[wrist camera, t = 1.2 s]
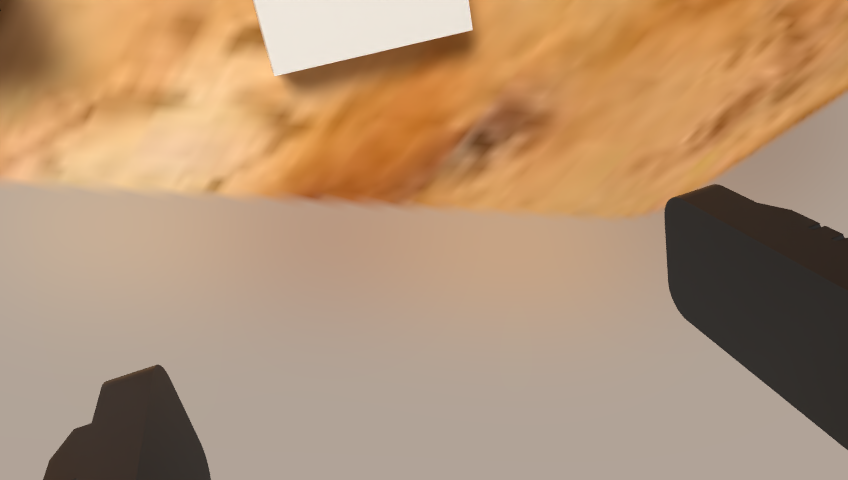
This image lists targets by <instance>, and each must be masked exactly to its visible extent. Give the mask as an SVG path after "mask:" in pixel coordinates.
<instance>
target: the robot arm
mask: <svg viewBox="0 0 848 480" xmlns="http://www.w3.org/2000/svg"><path fill="white" fill-rule="evenodd" d="M665 233H666V250H667V267H668V283H669V289H670V293H671V296H672V299H673V301H674V303H675V305H676V307H677V309H678V310H679V312H680V313H681V314H682V316H683V317H684V318H685V319H686V320H687V321H689V322H690V323H691V324H692V325H694V326H695V327H696V328H697V329H699V330H700V331H701V332H702V333H703V334H705V335H706V336H707V337H709V338H710V339H711V340H712V341H713V342H715V343H716V344H717V345H718V346H720V347H721V348H722V349H723V350H724V351H726V352H727V353H728V354H730V355H731V356H732V357H733V358H735V359H736V360H737V361H738V362H739V363H741V364H742V365H743V366H744V367H746V368H747V369H748V370H749V371H750V372H752V373H753V374H754V375H755V376H757V377H758V378H759V379H760V380H762V381H763V382H764V383H765V384H767V385H768V386H769V387H770V388H772V389H773V390H774V391H775V392H777V393H778V394H779V395H780V396H781V397H783V398H784V399H785V400H786V401H788V402H789V403H790V404H791V405H792V406H794V407H795V408H796V409H797V410H799V411H800V412H801V413H802V414H804V415H805V416H806V417H807V418H809V419H810V420H811V421H812V422H814V423H815V424H816V425H817V426H818V427H820V428H821V429H822V430H823V431H825V432H826V433H827V434H828V435H830V436H831V437H832V438H833V439H835V440H836V441H837V442H838V443H839V444H841V445H842V446H843V447H845V448H846V449H847V450H848V238H844V236H843V234H842V233H839V232H837V231H835V230H833V229H831V228H829V227H827V226H824V227H821V226H820V223H818V222H816V221H814V220H812V219H809V218H807V217H805V216H803V215H801V214H799V213H797V212H794V211H792V210H788V209H784V208H779V207H774V206H770V205H765V204H760V203H756V202H754V201H752V200H750V199H748V198H746V197H744V196H742V195H740V194H738V193H736V192H734V191H732V190H729V189H727V188H725V187H723V186H721V185H717V184H714V185H710V186H707V187H704V188H701V189H698V190H695V191H692V192H689V193H686V194H683V195H679V196H676V197H673V198H671V199H670V200H669V201H668V202H667V204H666V207H665ZM43 480H211V479H210V472H209V468H208V463H207V460H206V456H205V453H204V450H203V448H202V445H201V443H200V441H199V439H198V437H197V435H196V432H195V431H194V428H193V426H192V424H191V422H190V420H189V418H188V416H187V413H186V411H185V409H184V407H183V405H182V403H181V401H180V399H179V397H178V395H177V392H176V390H175V388H174V386H173V384H172V382H171V380H170V378H169V376H168V374H167V373H166V371H165V370H164V368H163V367H162V366H160V365H155V366H152V367H149V368H146V369H143V370H140V371H136V372H133V373H130V374H127V375H124V376H121V377H118V378H115V379H112V380H109V381H106V382H104V384H103V385H102V388H101V391H100V395H99V398H98V402H97V406H96V410H95V413H94V417H93V421H92V423H91V424H88V425H85V426H82V427H79V428H76V429H74V430H73V431H72V432H71V434H70V435H69V436H68V437H67V439H66V440H65V441H64V443H63V444H62V445H61V446H60V448H59V449H58V450H57V451H56V453H55V454H54V455H53V457H52V458H51V459H50V461H49V464H48V467H47V470H46V473H45V476H44V479H43Z"/></svg>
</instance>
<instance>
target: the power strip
mask: <svg viewBox="0 0 848 480" xmlns="http://www.w3.org/2000/svg"><path fill="white" fill-rule="evenodd" d="M252 1H253V4H254V8H255V12H256V15H257V19H258V23H259V26H260V30H261V33H262V37H263V41H264V44H265V48H266V52H267V55H268V59H269V62H270V65H271V68H272V71H273V73H274V76H278V75H282V74H287V73H291V72H295V71H299V70H304V69H308V68H312V67H317V66H321V65H325V64H329V63H334V62H338V61H342V60H347V59H351V58H355V57H359V56H364V55H368V54H372V53H377V52H381V51H385V50H389V49H394V48H398V47H402V46H407V45H411V44H415V43H419V42H424V41H428V40H432V39H436V38H441V37H445V36H449V35H454V34H458V33H462V32H466V31H471V30H473V28H472V21H471V14H470V7H469V0H252Z"/></svg>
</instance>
